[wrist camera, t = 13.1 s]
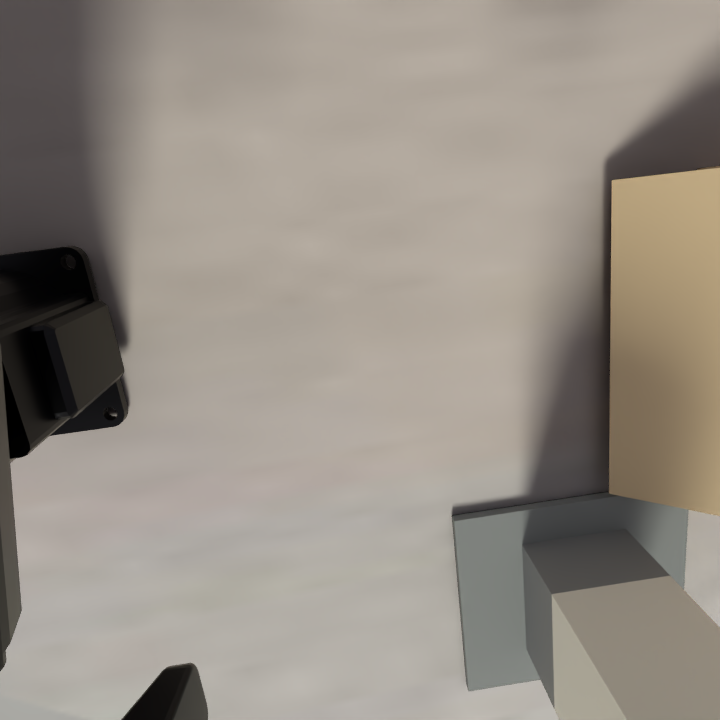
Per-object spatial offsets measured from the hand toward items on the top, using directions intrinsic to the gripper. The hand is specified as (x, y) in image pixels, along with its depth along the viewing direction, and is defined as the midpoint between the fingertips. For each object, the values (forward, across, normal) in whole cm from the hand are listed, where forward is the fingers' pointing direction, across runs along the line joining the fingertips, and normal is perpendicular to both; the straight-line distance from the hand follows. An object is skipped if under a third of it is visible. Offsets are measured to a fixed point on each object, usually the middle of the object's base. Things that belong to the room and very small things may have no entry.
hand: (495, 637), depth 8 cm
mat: (+13, -7, +11) cm, 18 cm away
